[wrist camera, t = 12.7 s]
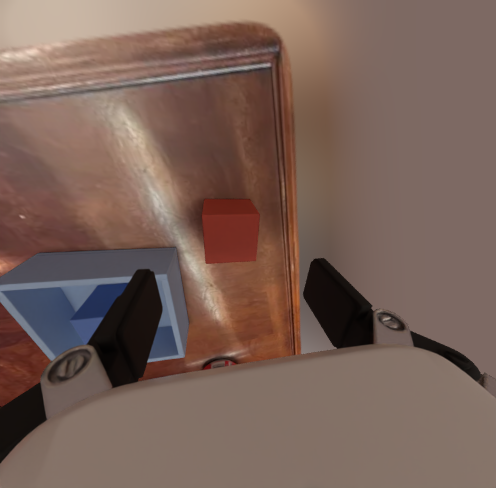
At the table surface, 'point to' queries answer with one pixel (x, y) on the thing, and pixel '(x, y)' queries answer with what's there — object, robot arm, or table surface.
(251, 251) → the red block
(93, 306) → the blue block
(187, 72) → the table surface
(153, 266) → the blue bin
